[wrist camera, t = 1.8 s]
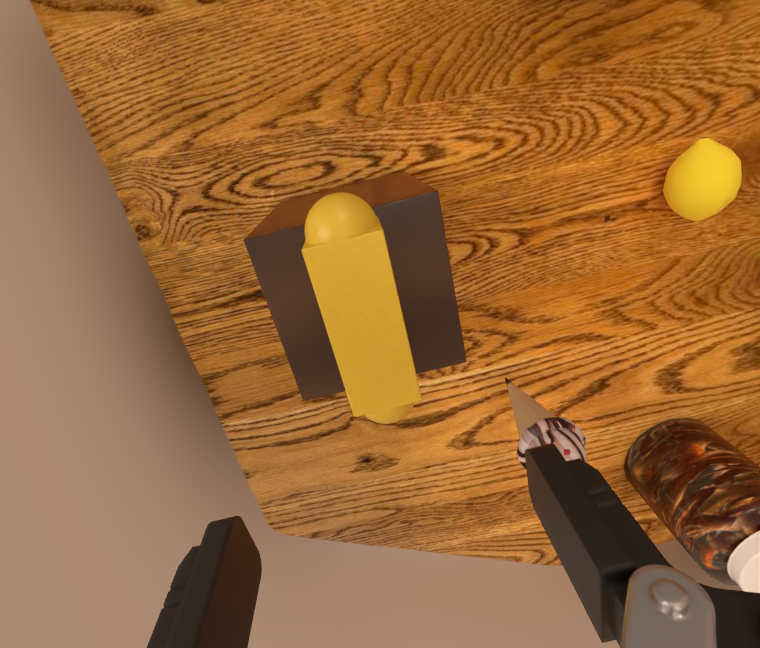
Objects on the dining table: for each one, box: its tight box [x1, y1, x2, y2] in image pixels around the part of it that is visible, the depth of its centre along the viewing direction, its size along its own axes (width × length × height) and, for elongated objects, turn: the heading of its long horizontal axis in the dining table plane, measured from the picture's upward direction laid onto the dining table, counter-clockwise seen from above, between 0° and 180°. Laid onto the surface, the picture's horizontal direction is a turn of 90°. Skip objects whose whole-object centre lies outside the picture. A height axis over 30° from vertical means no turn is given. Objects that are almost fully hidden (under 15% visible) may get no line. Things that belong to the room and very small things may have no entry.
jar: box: [625, 419, 760, 593], centre depth 46 cm, size 12×12×15 cm
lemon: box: [663, 137, 742, 221], centre depth 36 cm, size 7×5×5 cm
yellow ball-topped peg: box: [302, 192, 422, 424], centre depth 24 cm, size 14×4×4 cm, turn 13°
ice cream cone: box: [505, 378, 586, 469], centre depth 39 cm, size 6×6×15 cm
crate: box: [244, 171, 466, 401], centre depth 32 cm, size 11×11×15 cm
